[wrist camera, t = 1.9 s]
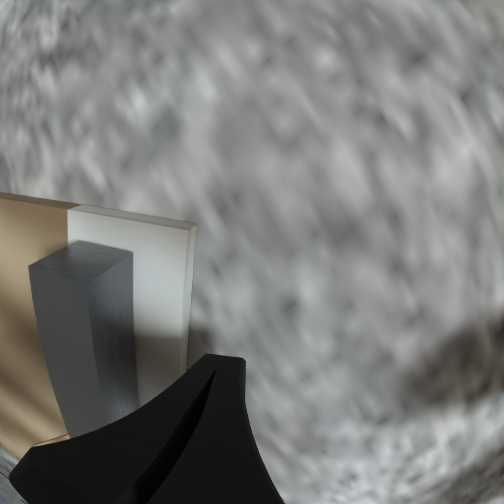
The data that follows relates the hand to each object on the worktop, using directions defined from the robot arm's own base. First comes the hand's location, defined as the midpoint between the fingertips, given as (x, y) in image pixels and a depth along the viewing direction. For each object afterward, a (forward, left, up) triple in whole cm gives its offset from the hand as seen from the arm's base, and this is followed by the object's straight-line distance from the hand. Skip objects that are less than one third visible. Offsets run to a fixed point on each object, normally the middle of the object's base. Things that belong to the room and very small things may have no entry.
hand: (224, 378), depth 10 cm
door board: (-9, +12, -2) cm, 15 cm away
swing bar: (-3, +5, -1) cm, 6 cm away
